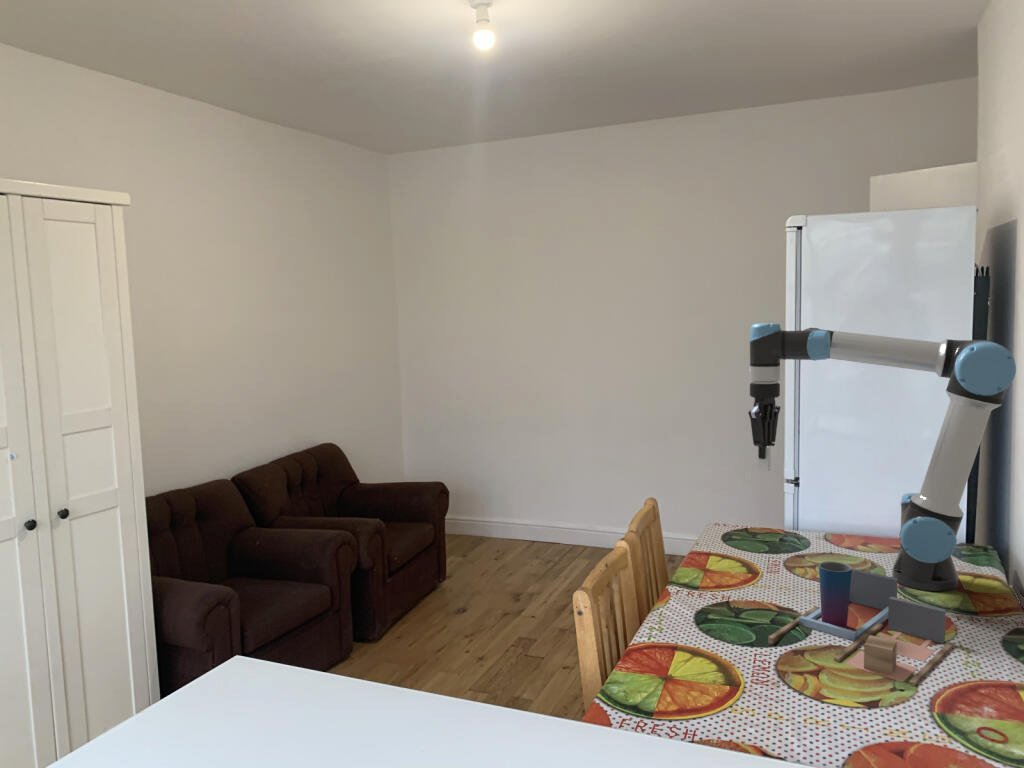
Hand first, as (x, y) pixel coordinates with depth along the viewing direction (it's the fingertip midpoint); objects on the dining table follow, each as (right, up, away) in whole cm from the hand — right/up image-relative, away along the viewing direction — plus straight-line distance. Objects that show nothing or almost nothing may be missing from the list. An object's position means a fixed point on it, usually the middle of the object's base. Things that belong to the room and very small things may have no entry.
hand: (764, 470), depth 202 cm
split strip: (+13, -34, -44) cm, 57 cm away
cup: (+5, -33, -31) cm, 46 cm away
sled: (+11, -32, -26) cm, 42 cm away
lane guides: (+7, -33, -40) cm, 52 cm away
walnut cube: (+6, -34, -50) cm, 61 cm away
